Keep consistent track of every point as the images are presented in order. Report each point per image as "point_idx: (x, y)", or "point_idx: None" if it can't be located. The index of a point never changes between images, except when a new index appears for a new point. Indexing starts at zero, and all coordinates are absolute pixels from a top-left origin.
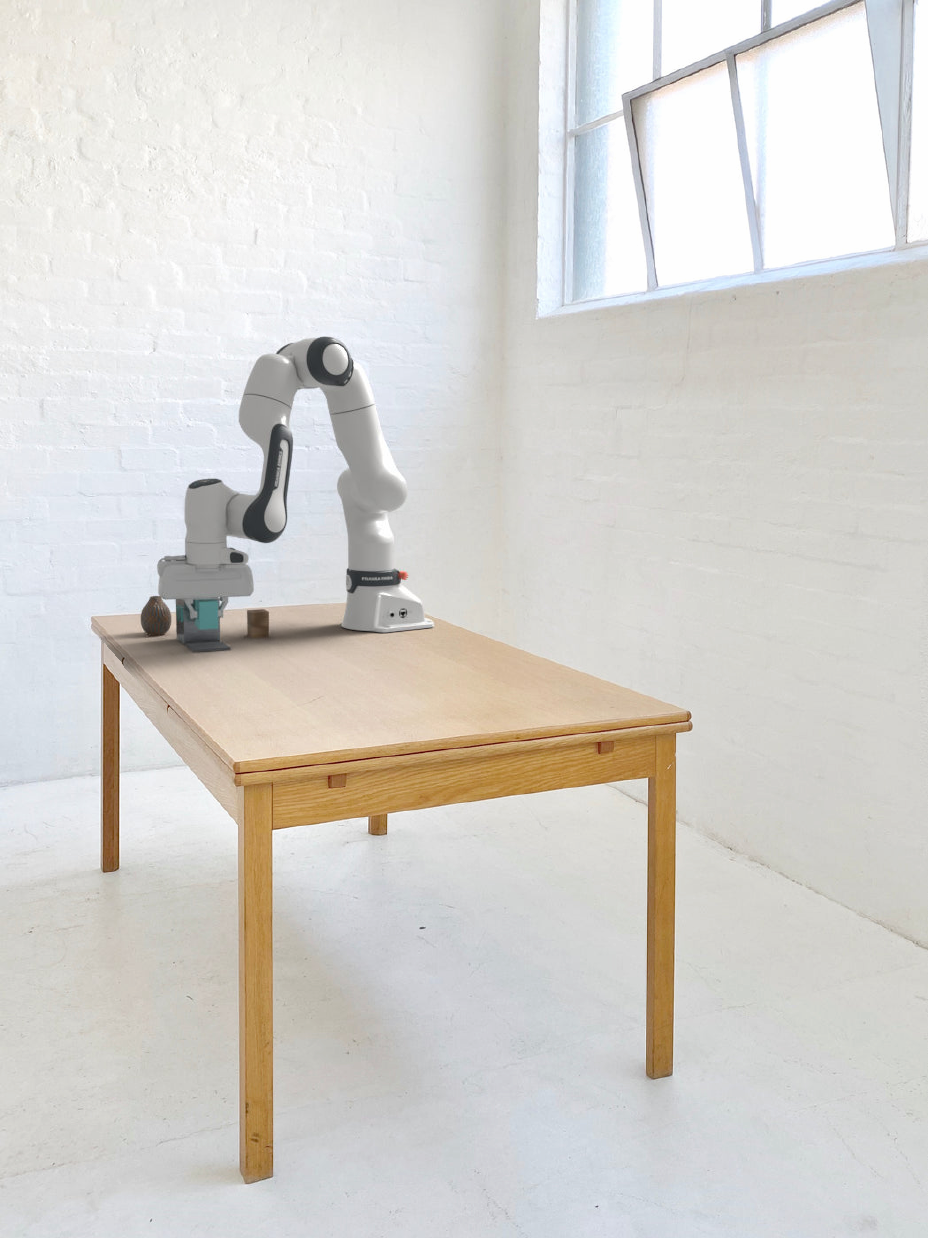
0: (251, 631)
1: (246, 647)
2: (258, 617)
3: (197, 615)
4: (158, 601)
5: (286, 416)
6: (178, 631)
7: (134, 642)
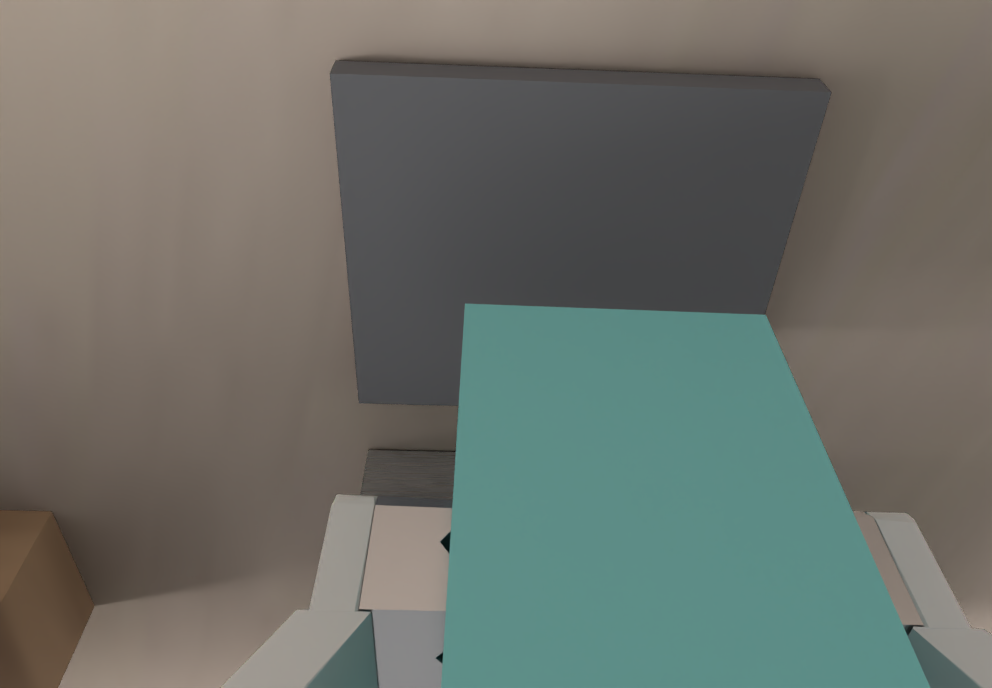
0: (29, 575)
1: (116, 144)
2: None
3: None
4: None
5: None
6: None
7: (988, 632)
